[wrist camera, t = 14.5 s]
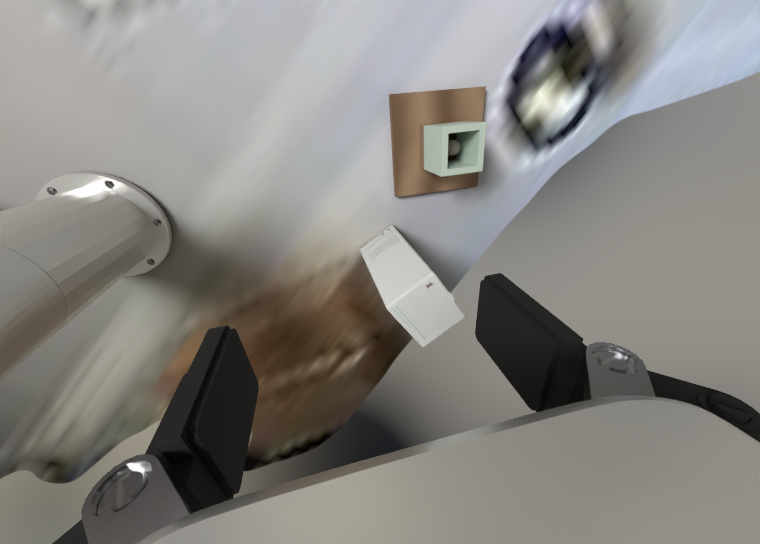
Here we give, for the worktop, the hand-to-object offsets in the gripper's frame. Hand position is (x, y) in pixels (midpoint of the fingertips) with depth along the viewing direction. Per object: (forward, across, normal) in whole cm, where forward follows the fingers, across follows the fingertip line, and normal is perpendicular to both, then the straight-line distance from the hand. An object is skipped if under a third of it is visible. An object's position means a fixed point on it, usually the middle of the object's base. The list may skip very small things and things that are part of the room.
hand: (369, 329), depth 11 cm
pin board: (+30, -15, -3) cm, 34 cm away
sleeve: (+29, -15, -3) cm, 33 cm away
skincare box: (+31, -8, +12) cm, 34 cm away
